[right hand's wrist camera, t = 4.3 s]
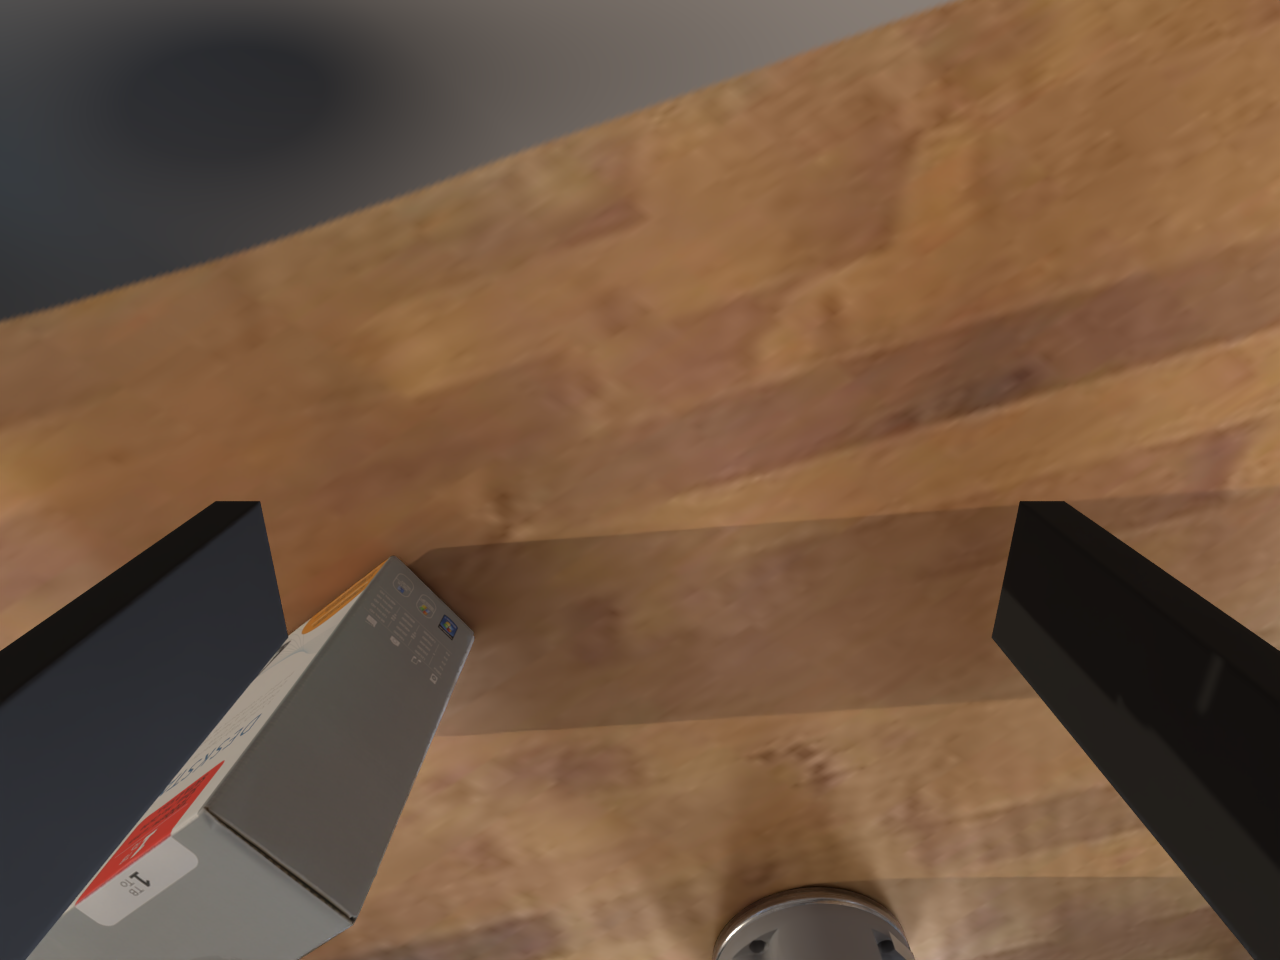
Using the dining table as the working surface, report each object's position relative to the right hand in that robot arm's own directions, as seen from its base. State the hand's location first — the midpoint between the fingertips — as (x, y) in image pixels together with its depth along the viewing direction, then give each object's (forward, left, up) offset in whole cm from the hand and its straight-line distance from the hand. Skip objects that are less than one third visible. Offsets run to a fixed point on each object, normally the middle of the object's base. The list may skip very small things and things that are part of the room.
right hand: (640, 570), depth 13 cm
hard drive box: (-21, +19, -28) cm, 40 cm away
